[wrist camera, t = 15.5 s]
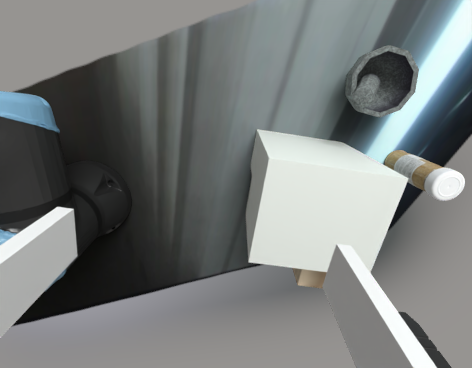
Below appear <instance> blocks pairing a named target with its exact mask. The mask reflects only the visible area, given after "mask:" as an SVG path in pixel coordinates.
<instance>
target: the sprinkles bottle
mask: <svg viewBox="0 0 472 368" xmlns="http://www.w3.org/2000/svg"><path fill="white" fill-rule="evenodd" d="M385 166H387V167H388V168H390V169H392V170H394V171H396V172H398V173H399V174H401V175H403V176H405V177H407V178H409V179H408V181H407V182H409V183H411V184H412V185H414V186H416V187H418V188H420V189H422V190H424V191H425V192H426V193H427V194H428V195H430V196H432V197H434V198H436V199H438V200H442V201H445V200H450V199H453V198H455V197H456V196H457V195H458V194H460V193H461V191H462V189H463V188H464V184H465V180H464V177H463V176H462V175H461V174H460V173H459V172H457V171H454V170H452V169H449V168H443V167H441V166H438V165H436V164H434V163H431V162H429V161H426V160H425V159H422V158H420V157H417V156H415V155H411V154H409V153H406V152H405V151H403V150H396V151H393V152H391V153H390V154H389V155H388V156H387V157H386V159H385Z"/></svg>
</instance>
